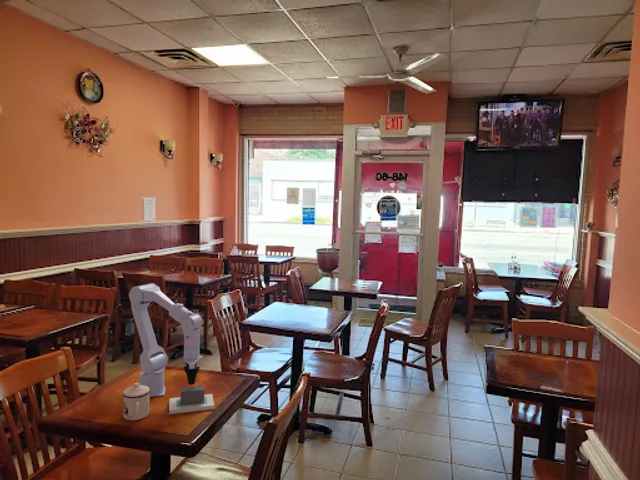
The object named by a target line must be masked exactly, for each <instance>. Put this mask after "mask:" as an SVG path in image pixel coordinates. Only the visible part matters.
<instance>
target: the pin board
mask: <svg viewBox="0 0 640 480" xmlns="http://www.w3.org/2000/svg"><path fill="white" fill-rule="evenodd" d="M168 407H169V408H168V415H174V414H175V415H176V414H183V413H184V414H185V413H191V412H192V413H193V412H200V411H210V410H215V402H214V395H213V393H208V394H207V393H206V394H204V403H196V404H186V405H180V396H178V397H170V398H169V404H168Z"/></svg>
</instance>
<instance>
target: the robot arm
mask: <svg viewBox="0 0 640 480" xmlns="http://www.w3.org/2000/svg"><path fill="white" fill-rule="evenodd" d="M128 297H129V301H130V305H131V312H132V315H133V319H134V321H135V326H136V329H137V332H138V336H139V338H140V342H141V345H142V349H143V351H142V353H140V355H139V360H140V364H139V365H140V370H141V371H140V372H139V377H138V378H139V380H138V381H139V382H138V383H139V384H140V385H144V386H147V387H149V389H150V393H149V398H152V397H162V396H165V394H166V386H165V370H166V366H168V364H169V357H168V355H167V354H166V352H165V349H164V348H163V347H162V346H160V345H158V341H157V338H156V334H155V332H154V328H153V325H152V322H151V318H150V315H149V310H148V308H149V305H150V304H151V303H152V302H155V303H156V304H158V305H160V306H161V307H162V308H164V309H165V310H167V311H168V315H169V316H170V317H172V319H174V320H175V321H176V322H178V323H179V324H180V327H181V329H182V332H183V336H184V337H183V338H184V339H183V341H184V342H183V358H182V359H183V361H184V363H185V366H183V370H184V372H185V374H186V378H187V383H188V385H189V386H192V385H193V386H194V385H195V383H196V379H197V375H198V373H199V371H200V367H201V366H200V365H198V366H197V364H198V362H199V361H200V360H202V359H203V355H200V346H201V345H200V344H201V343H200V340H201V338H200V337H201V328H202V327H203V324H204V320H203V317H202V315H201V314H200V313H199V312H195V313H194V312H192V311H191V310H189V309H188V308H187V307H185V306H184V304H183V303H175V302H174V301H172V300H171V299H170V298H169V297H168V296H167V295H165V293H164V292H162V291H161V288H160V286H158V285H156V283H152V282H150V283H147V284H141V285H136V286H133V287H132V288H131V289H130V291H129V293H128Z"/></svg>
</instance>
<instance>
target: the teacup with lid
mask: <svg viewBox="0 0 640 480" xmlns="http://www.w3.org/2000/svg"><path fill="white" fill-rule="evenodd" d="M149 393H150V389H149V387H147V386H144V385H140V384H139V382H135V383H133V385H131V386H130V387H127V388H126V389H124V390H123V392H122V399H123V402H122V403H123V406H122V407H123V410H122V411H123V413H122V414H123V416H122V417H123V418H124V419H125V420H127V421H137V420H138V421H139V420H141V419H142V420H143V419H144V418H146V417H147V416H149V415H150V397H149Z"/></svg>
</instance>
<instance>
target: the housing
mask: <svg viewBox="0 0 640 480" xmlns="http://www.w3.org/2000/svg"><path fill="white" fill-rule="evenodd" d="M179 391H180V392H179V393H180V395H179V397H180V405H186V404H196V403H204V395H205V385H204V384H203V385H193V386H192V385H190V386H183V387H182V386H181V387H180V390H179Z"/></svg>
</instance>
